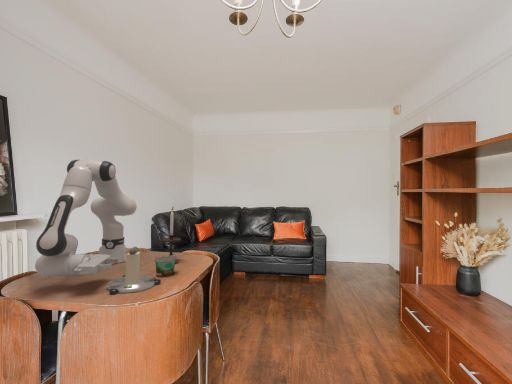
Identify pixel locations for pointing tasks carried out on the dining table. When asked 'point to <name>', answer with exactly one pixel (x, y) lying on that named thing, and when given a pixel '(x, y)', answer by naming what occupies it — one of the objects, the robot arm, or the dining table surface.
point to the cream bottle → (132, 266)
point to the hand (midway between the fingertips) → (115, 263)
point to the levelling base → (132, 285)
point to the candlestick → (171, 235)
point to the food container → (165, 265)
